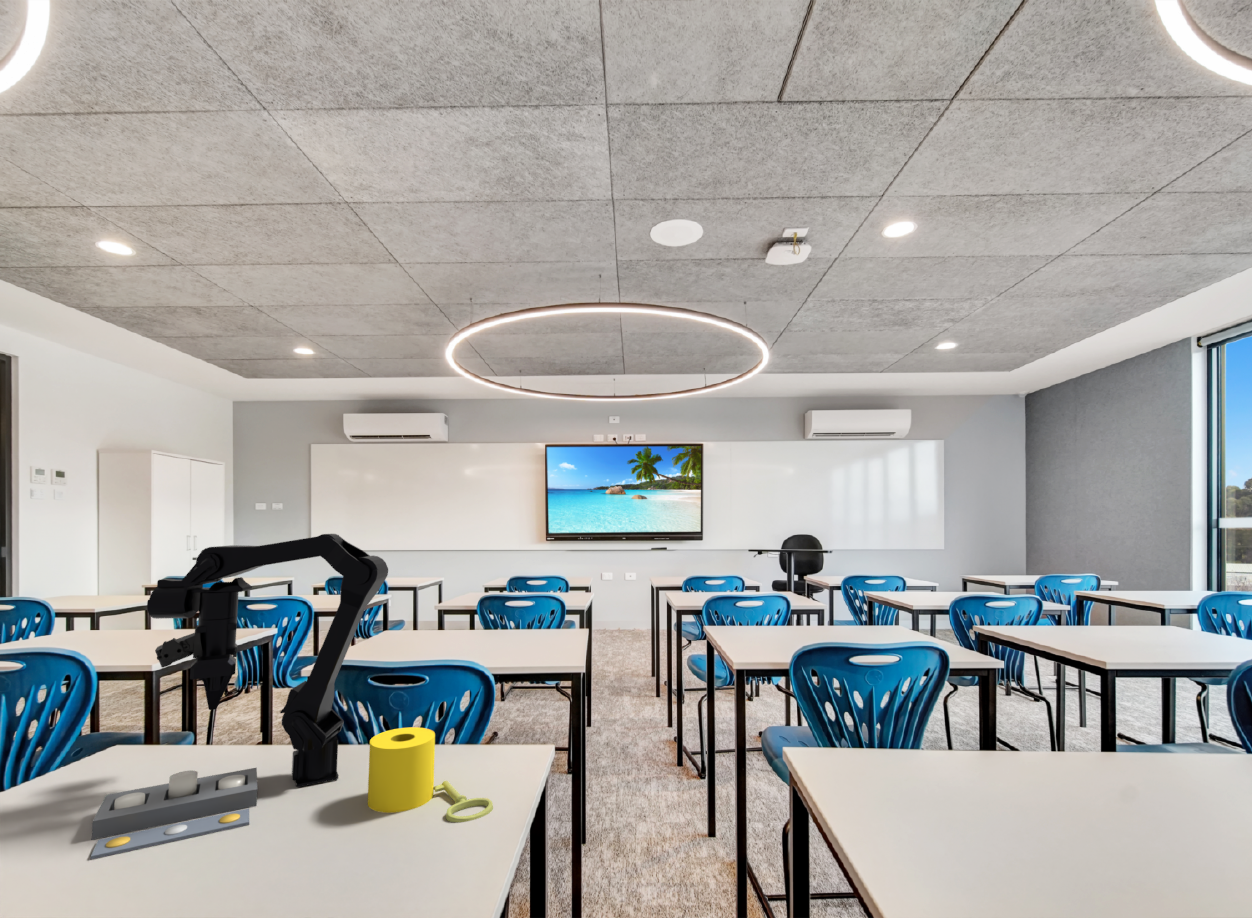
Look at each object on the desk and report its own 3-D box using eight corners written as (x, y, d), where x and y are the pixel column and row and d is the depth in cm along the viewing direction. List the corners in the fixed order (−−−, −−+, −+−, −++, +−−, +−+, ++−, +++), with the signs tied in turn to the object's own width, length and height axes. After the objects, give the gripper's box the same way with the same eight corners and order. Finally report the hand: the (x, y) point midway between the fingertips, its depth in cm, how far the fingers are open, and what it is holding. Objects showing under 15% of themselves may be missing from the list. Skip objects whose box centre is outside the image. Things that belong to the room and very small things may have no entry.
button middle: (197, 788, 99) (198, 768, 100) (195, 796, 96) (196, 776, 96) (169, 793, 97) (170, 773, 98) (166, 802, 94) (168, 781, 95)
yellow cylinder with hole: (353, 806, 97) (355, 743, 98) (398, 781, 107) (400, 724, 108) (403, 817, 94) (405, 752, 95) (446, 790, 103) (447, 731, 104)
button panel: (255, 782, 106) (256, 767, 106) (256, 805, 98) (257, 789, 98) (105, 811, 96) (106, 794, 96) (91, 839, 87) (92, 821, 87)
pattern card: (249, 811, 96) (249, 806, 96) (249, 824, 91) (249, 820, 92) (98, 842, 86) (98, 838, 86) (90, 859, 82) (90, 854, 82)
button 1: (145, 810, 96) (146, 790, 96) (141, 820, 93) (143, 799, 93) (115, 816, 94) (116, 795, 94) (110, 826, 91) (112, 805, 91)
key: (445, 791, 103) (445, 778, 103) (499, 811, 97) (499, 796, 97) (409, 809, 97) (409, 794, 97) (464, 830, 91) (464, 815, 91)
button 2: (244, 791, 102) (245, 772, 103) (243, 800, 99) (245, 780, 100) (218, 797, 101) (219, 777, 101) (217, 805, 97) (218, 785, 98)
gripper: (167, 614, 113) (161, 702, 112) (154, 629, 97) (147, 733, 96) (239, 609, 119) (234, 693, 117) (238, 623, 103) (232, 721, 101)
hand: (212, 709), depth 108 cm, fingers closed
